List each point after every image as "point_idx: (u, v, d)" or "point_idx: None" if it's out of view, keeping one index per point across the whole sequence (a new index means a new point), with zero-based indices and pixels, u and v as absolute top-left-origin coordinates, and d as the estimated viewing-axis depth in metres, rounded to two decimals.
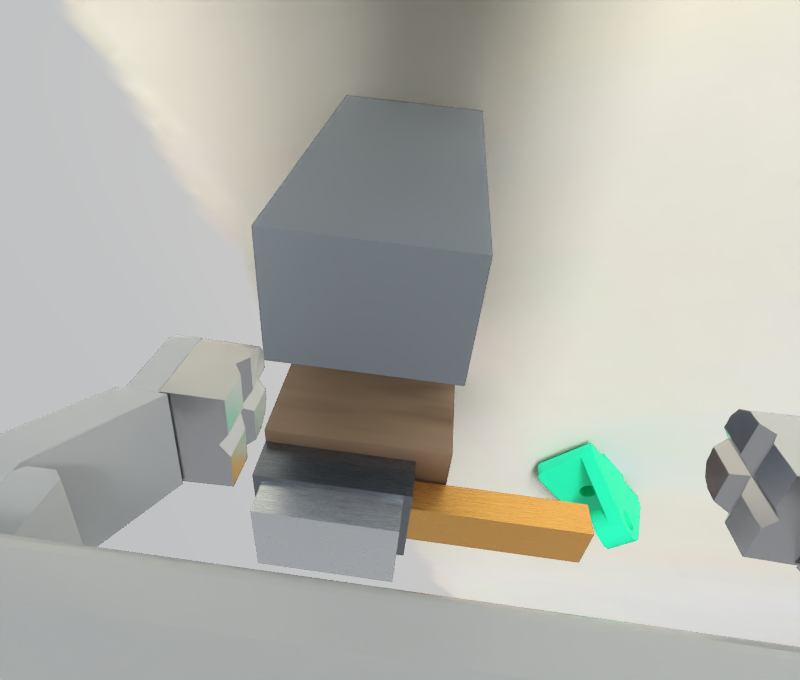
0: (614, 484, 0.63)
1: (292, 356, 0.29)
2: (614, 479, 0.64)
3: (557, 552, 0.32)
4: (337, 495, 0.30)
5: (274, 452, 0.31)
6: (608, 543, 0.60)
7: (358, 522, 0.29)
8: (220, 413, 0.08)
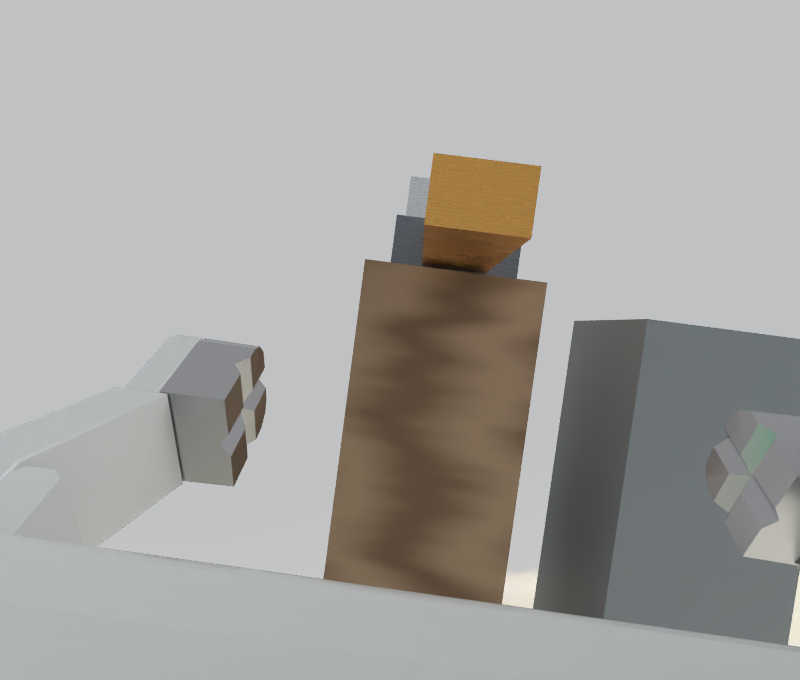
0: None
1: None
2: None
3: None
4: None
5: None
6: None
7: None
8: (220, 413, 0.08)
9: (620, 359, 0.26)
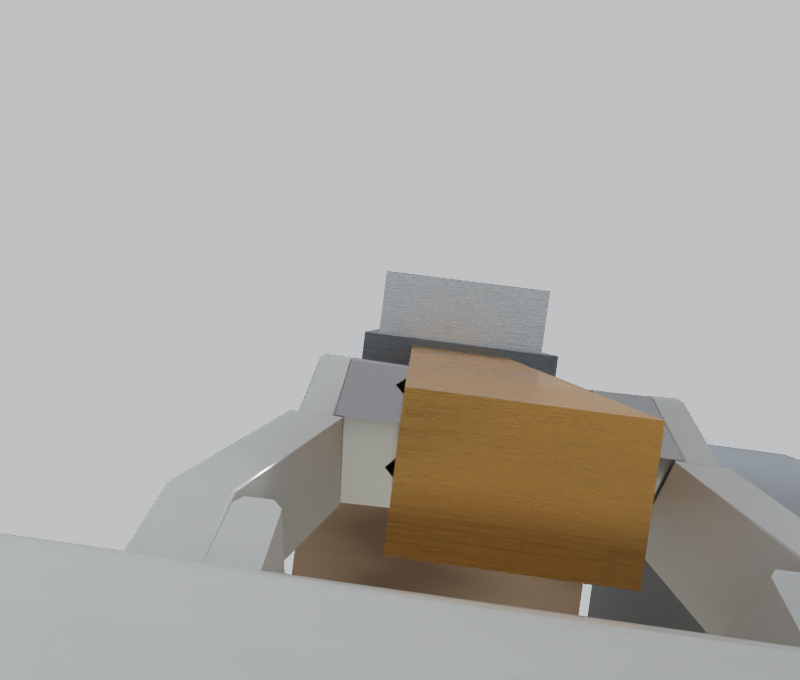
0: None
1: None
2: None
3: (458, 380, 0.08)
4: None
5: None
6: None
7: None
8: (392, 436, 0.08)
9: None
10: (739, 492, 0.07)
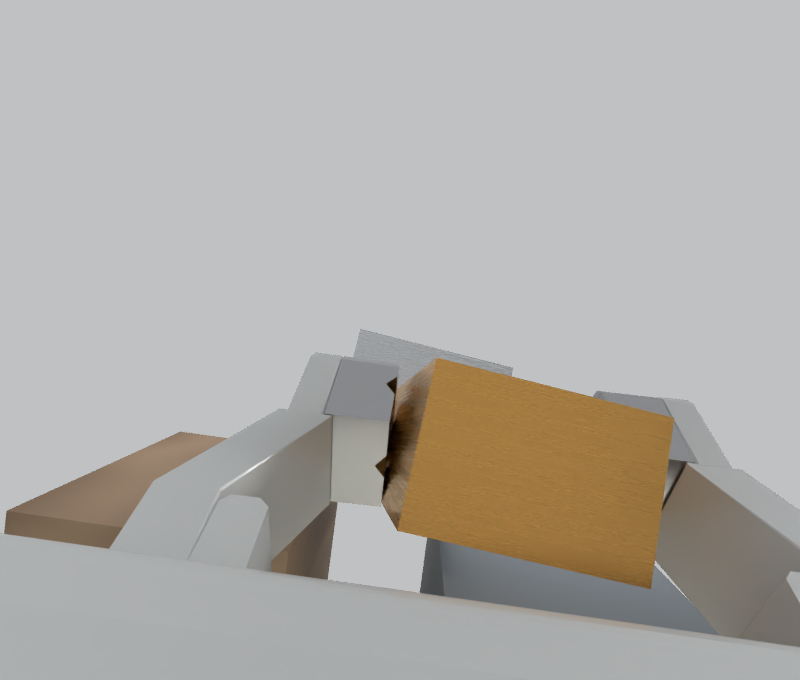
0: None
1: None
2: None
3: None
4: None
5: None
6: None
7: None
8: (381, 435, 0.08)
9: None
10: (751, 494, 0.07)
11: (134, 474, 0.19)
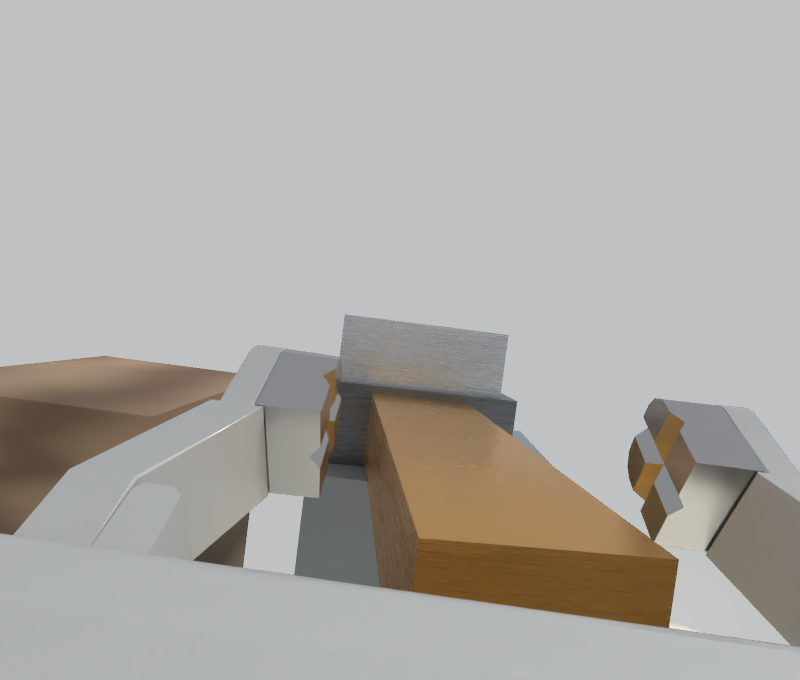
0: None
1: None
2: None
3: (457, 497, 0.07)
4: None
5: None
6: None
7: None
8: (314, 426, 0.08)
9: None
10: None
11: (31, 372, 0.20)
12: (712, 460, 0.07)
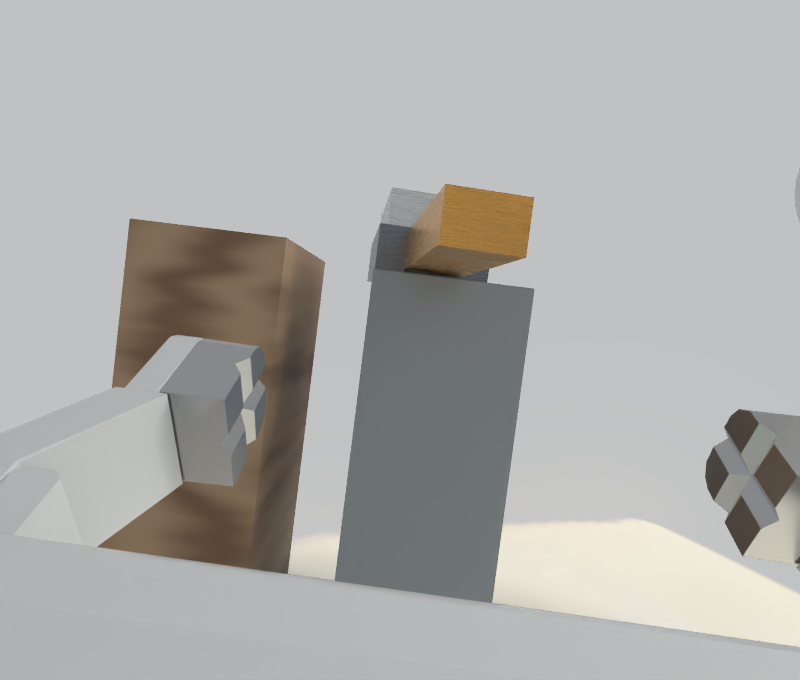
0: None
1: None
2: None
3: None
4: None
5: None
6: None
7: None
8: (220, 413, 0.08)
9: None
10: None
11: None
12: None
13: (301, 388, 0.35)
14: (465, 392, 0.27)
